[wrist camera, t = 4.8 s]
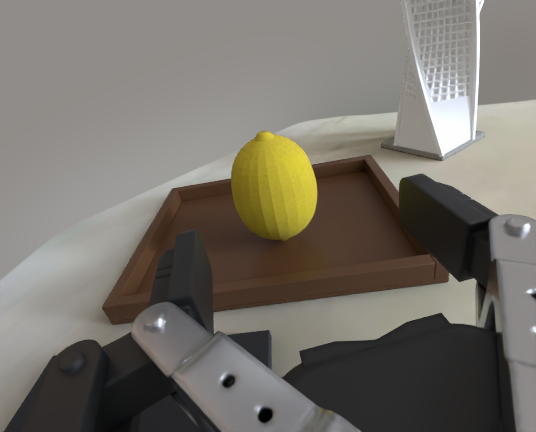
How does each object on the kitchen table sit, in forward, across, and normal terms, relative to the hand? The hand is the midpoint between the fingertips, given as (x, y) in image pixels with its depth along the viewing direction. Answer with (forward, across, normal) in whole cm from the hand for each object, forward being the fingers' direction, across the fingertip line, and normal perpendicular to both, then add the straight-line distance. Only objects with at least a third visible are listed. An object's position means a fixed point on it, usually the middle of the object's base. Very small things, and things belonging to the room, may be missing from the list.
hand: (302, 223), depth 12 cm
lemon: (+8, 0, +7) cm, 11 cm away
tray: (+11, +1, +7) cm, 13 cm away
